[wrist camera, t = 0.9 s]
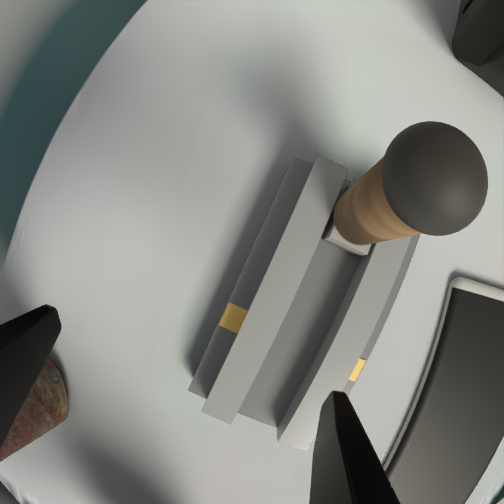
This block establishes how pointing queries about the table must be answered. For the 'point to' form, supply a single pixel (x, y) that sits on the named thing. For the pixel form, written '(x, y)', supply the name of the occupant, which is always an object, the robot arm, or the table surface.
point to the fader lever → (412, 190)
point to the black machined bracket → (482, 40)
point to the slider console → (299, 312)
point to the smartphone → (455, 402)
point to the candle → (38, 411)
